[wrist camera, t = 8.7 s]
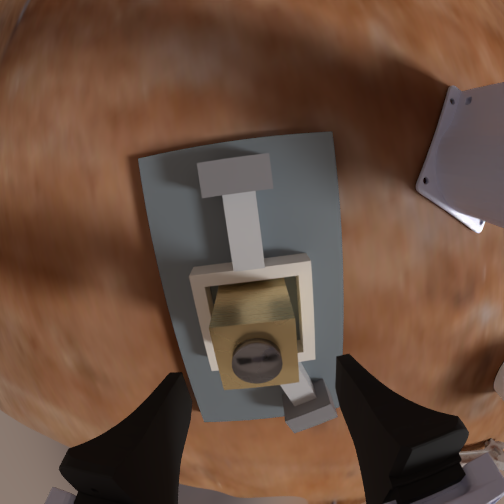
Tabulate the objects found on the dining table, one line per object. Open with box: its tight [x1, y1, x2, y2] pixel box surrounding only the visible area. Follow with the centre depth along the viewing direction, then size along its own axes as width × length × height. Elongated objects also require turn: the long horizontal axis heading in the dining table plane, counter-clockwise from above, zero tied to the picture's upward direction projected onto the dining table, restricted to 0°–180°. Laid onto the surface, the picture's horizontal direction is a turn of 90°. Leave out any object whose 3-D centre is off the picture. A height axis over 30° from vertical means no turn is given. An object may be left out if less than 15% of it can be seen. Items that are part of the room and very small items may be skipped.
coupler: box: [209, 277, 299, 390], centre depth 17 cm, size 4×4×7 cm
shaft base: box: [138, 132, 343, 433], centre depth 19 cm, size 22×12×4 cm, turn 7°
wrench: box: [459, 438, 504, 470], centre depth 27 cm, size 8×2×30 cm
